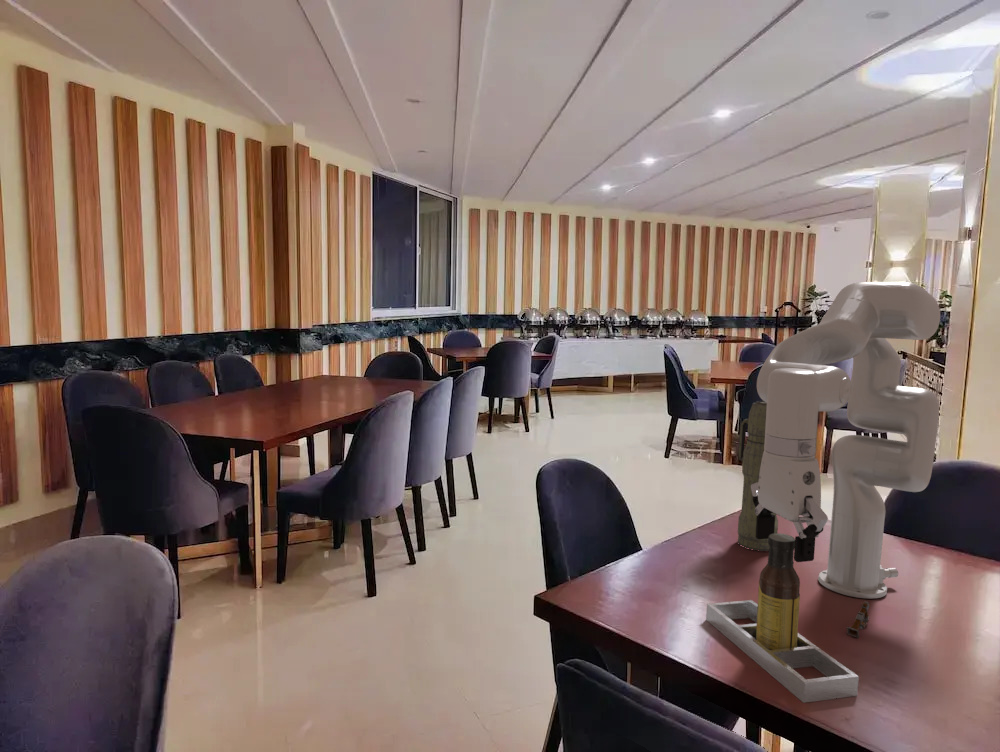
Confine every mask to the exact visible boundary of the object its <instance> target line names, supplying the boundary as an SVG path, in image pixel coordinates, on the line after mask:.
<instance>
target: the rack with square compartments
mask: <svg viewBox="0 0 1000 752" xmlns="http://www.w3.org/2000/svg"><path fill="white" fill-rule="evenodd" d="M757 607H758V602H755V601H754V600H752V599H749V600H748V599H747V600H736V601H726V602H725V601H723V602H715V603H714V602H713V603H711V602H710V603H707V604H706V614H705V620H706V621H707V622H708V623H709V624H710V625H712V626H713V627H714V628H715V629H716V630H717V631H719V632H720V633H721V635H723V636H725V637H726V638H727V639H728V640H729V641H730V642H731V643H733V644H734V645H735V646H736V647H737V648H738V649H740V650H741V651H742V652H743V653H744V654H746V656H748V657H749V658H750V659H752V661H754V662H755V663H756V664H757V665H758V666H760V668H762V669H763V670H764V671H765V672H767V674H769V675H770V676H771V677H773V678H774V679H775V680H776V681H777V682H778V683H780V684H781V685H782V686H783V687H784V688H785V689H787V690H788V691H789V692H790V693H791V694H792V695H794V696H795V697H796V698H797V699H798V700H799V701H800V702H802V703H803V704H805V703H813V702H820V701H829V700H835V699H836V698H837V699H844V698H850V697H858V690H859V689H858V688H859V681H860V676H859V675H858V674H856V673H855V672H854V671H852V670H850V669H849V668H848V667H846V666H845V665H844V664H842V663H841V662H839V661H838V660H837V659H835V658H834V657H832V656H831V655H829V654H828V653H826V652H825V651H824V650H822V649H821V648H820V647H818V646H817V645H816V644H814V643H813V642H811V641H810V640H808V639H807V638H806V637H805V636H803V635H801V633H799V632H798V637H797V647H794V648H785V649H776V650H769V649H767V648H766V647H765V646H764V645H762V644H761V643H760V642H759V641H757V639H756V629H757V609H758V608H757ZM739 619H740V620H741V619H750V620H751V621H753V622H754V623H747V624H738V623H736V622H735V621H734V620H739ZM809 667H814V668H815V669H816V670H817V671H819V672H820V673H821V674H822V675H823V677H817V678H816V677H815V678H807V679H806V678H805V677H804V676H802V675H801V674H800V673H799V672H797V671H796V670H795V669H800V668H809Z"/></svg>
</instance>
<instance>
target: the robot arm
mask: <svg viewBox="0 0 1000 752" xmlns="http://www.w3.org/2000/svg"><path fill="white" fill-rule="evenodd" d="M940 321H941V309H940V306H939V303H938V301H937V300H936V298H935V297H934V296H933V295H932V294H930V292H928V291H927V290H926V289H925V288H923V287H922V286H920V285H918V284H916V283H912V282H909V281H907V282H906V281H865V282H863V281H862V282H855V283H854V282H853V283H850V284H847V285H846V286H845V287H843V288H842V289H841V290H840V291H839V292H838V293H837V295H836V296H835V298H834V300H833V301H832V303H831V304H830V305H829V308H828V309H827V311H826V312H825V313H824V315H823V317H822V318H821V320H820V322H819V323H818V324H816V325H813V326H811V327H809V328H806V329H804V330H802V331H800V332H797V333H796V334H793V335H792V336H788V337H787V338H786V339H784V340H782V341H781V342H779V343H778V344H777V345H776V346H775V347H774V348H773V349H772V351H771V352H770V354H769V355H768V356H767V358H766V359H765V361H764V363H763V364H762V366H761V368H760V370H759V372H758V375H757V379H756V390H757V394H758V396H759V398H760V399H761V401H765V402H766V403H767V410H766V428H765V444H764V453H763V457H762V461H761V467H760V473H759V482H757V483H754V484H752V485H751V491H752V495H753V496H754V497H753V503H754V505H755V507H756V508H755V514H756V515H758V516H757V519H756V538H757V539H768V536H769V535H770V534H774V528H775V515H773V514H772V513H775V514H776V516H779V517H781V518H782V519H785V520H787V521H788V522H791V523H793V525H794V527H795V530H796V532H797V535H796V536H795V537H794V538H795V548H794V553H793V561H795V562H796V563H803V562H811V561H814V560H815V548H816V538H819V535H820V534H821V533H823V531H824V528H825V526H826V524H827V523H828V520H829V517H828V515H827V514H826V513H825V512H824V510H823V509H822V484H821V483H822V481H821V470H820V464H819V460H818V459H817V458H816V453H817V438H818V437H817V434H818V419H819V412H826V413H827V412H828V413H829V412H834V411H837V410H839V409H841V408H843V407H844V406H845V405H846V404H847V406H846V407H847V408H846V416H847V420H848V422H849V423H850V424H851V425H852V426H854V427H856V428H860V429H863V430H868V431H869V430H870V431H877V432H884V433H891V434H898V435H903V436H905V437H906V441H902V440H896V439H887V438H883V437H877V436H876V437H875V436H869V435H861V434H860V435H859V434H848V435H845V436H842V437H839V438H838V439H837V440H836V441H835V442H834V444H833V446H832V449H831V465H832V466H831V467H832V475H833V477H832V478H833V494H832V495H833V498H832V509H831V510H832V511H831V522H830V535H829V548H828V556H827V557H828V559H827V560H828V561H827V568H826V569H824V570H822V571H820V572H819V573H818V577H817V579H818V582H819V583H820V584H821V585H822V586H823V587H825V588H826V589H828V590H830V591H832V592H835V593H837V594H840V595H844V596H847V597H851V598H852V597H853V598H859V599H871V600H873V599H874V600H875V599H880V598H884V597H885V596H886V595H887V594H888V587H887V585H886V584H885V583H884V580H886V579H889V578H890V579H891V578H898V576H899V570H898V569H897V568H896V567H888V568H884V567H883V566H882V565H881V562H882V549H883V542H884V541H883V540H884V529H885V528H884V527H885V518H886V506H885V501H884V499H883V498H882V496H881V494H880V493H879V491H878V490H877V487H881V488H888V489H893V490H898V491H904V492H910V493H911V492H912V493H918V492H922V491H924V490H925V489H926V488H927V487H928V486H929V484H930V480H931V477H932V474H933V473H932V472H933V465H934V459H935V451H936V444H937V437H938V429H939V421H940V420H939V419H940V405H939V400H938V397H937V396H936V394H935V393H934V392H933V391H931V390H929V389H927V388H923V387H915V386H904V385H900V374H901V368H902V361H901V357H900V356H899V354H898V353H897V351H896V349H895V348H894V347H893V345H892V344H891V343H890V342H889V341H888V340H887V339H894V340H913V341H924V340H927V339H930V338H931V337H932V336H934V335H935V333H936V332H937V331H938V328H939V325H940V323H941V322H940ZM850 359H852V360H853V361H852V362H853V363H852V371H851V378H850V376H849V375H848V373H847V372H846V371H845V370H843V369H842V368H840V367H836V366H834V365H830V364H835V363H839V362H843V361H847V360H850ZM771 514H772V515H771ZM804 523H806V525H807V527H804Z"/></svg>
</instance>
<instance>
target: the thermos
mask: <svg viewBox="0 0 1000 752" xmlns="http://www.w3.org/2000/svg"><path fill="white" fill-rule="evenodd" d="M766 410H767V403H766V402H765V401H763V400H757V401H756V402H752V404H751V407H750V410H749V412H748V418H745V419H743V420H742V421H741V423H740V424H739V436H738V437H739V439H738V449H737V450H738V453H737V454H738V461H740V462H741V464H742V469H741V470H742V472H741V473H742V475H743V485H742V486H743V487H742V500H741V512H740V514H739V516H738V524H737V535H738V536H737V537H738V538H737V544H738V543H739V544H740V545H742V546H744V547H746V548H749V549H753V550H759V551H769V545H768V539H757V538H756V519H757V516H758V515H756V514H755V508H756V507H755V505H754V503H753V497H754V496H753V495H752V491H751V485H752V484H754V483H757V482H759V473H760V467H761V461H762V457H763V453H764V444H765V428H766ZM746 426H747V439H745V438H746V437H745V436H746ZM745 440H746V444H745ZM772 514H773V515H775V528H774V533H778V529H779V519H778V515H777V514H775V513H772ZM772 514H771V515H772Z"/></svg>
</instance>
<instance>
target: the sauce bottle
mask: <svg viewBox="0 0 1000 752" xmlns="http://www.w3.org/2000/svg"><path fill="white" fill-rule="evenodd" d="M768 545H769V552H768V557H767V563H766V565H765V566H764V567H763V569H762V570H761V572H760V574H759V580H758V595H757V604H758V607H757V608H758V609H757V629H756V639H757V641H759V642H760V643H761V644H762V645H764V646H765V647H766V648H767V649H769V650H776V649H785V648H794V647H797V637H798V633H799V615H800V614H799V613H800V603H801V602H800V601H801V599H800V598H801V594H800V589H801V588H800V587H801V581H800V577H799V575H798V573H797V572H796V570H795V568H794V563H795V562H794V548H795V537H794V536H792V535H789V534H786V533H778V532H777V533H774V534H770V535H769V536H768Z"/></svg>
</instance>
